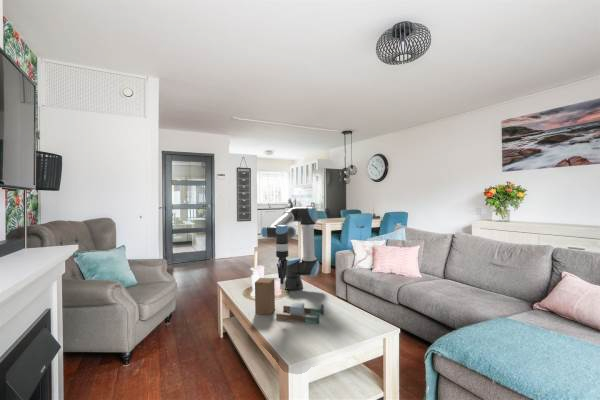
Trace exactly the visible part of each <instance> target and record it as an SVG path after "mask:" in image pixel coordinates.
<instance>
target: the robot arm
mask: <svg viewBox="0 0 600 400" xmlns="http://www.w3.org/2000/svg"><path fill="white" fill-rule="evenodd" d="M318 219H319V214H318V210H317V208H316V207H314V206H295V207H291V208H289V209H287V210H285V211H284V212H283V214H282V216H280V217H279V218H278V219H277V220H275V221H274V222H272V223H271V224H270V225H268V226H265V225H263V227H262V228H261V236H262V237H263V238H266V239H275V249H276V251H275V256H276V258H278V261H277V263H276V267H277V274H278V279H279V286H280V288H279V289H280V290H286V289H285V288H287V289H289V290H288V291H299V290H302V289H304V288H303V287H304V284H303V281H302V278H301V277H302V276H306V277H316V276H317V275H318V273H319V270H320V262H319V260H318V259H317V257H316V256H315V255H316V254H315V229H314V227H315V225H316V223H317V222H318ZM294 222H298V223H300V225H301V227H302V244H303V247H302V248H303V250H302V251H303V257H302V258H300V257H292V258H288V257H289V240H290V239H292V238H294V237H295V236H296V234H297V231H296V228H295V227H294V226H289V224H292V223H294ZM287 258H288V259H287Z"/></svg>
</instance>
